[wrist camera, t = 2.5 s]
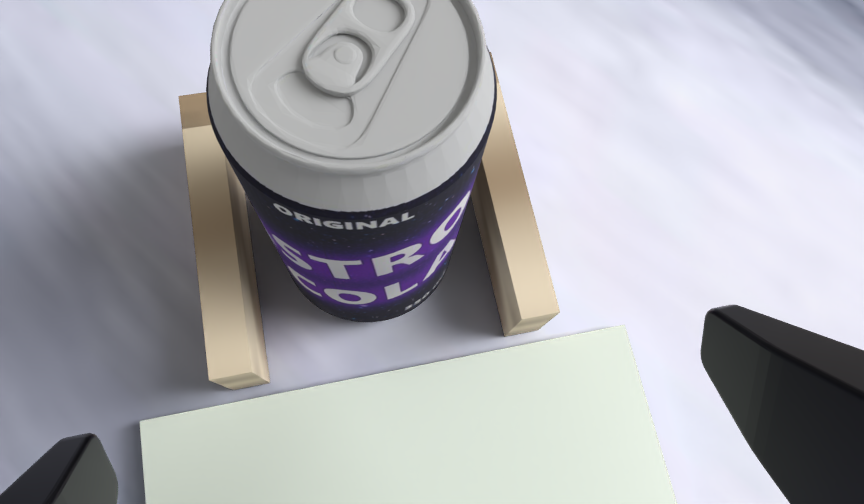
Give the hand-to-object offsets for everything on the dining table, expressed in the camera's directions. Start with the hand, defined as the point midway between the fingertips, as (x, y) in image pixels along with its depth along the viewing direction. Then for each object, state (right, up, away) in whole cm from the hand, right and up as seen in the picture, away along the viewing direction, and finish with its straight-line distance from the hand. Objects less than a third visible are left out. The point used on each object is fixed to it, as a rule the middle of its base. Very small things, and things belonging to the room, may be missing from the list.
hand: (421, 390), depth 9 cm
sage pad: (0, -6, +11) cm, 13 cm away
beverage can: (-2, +2, +14) cm, 14 cm away
